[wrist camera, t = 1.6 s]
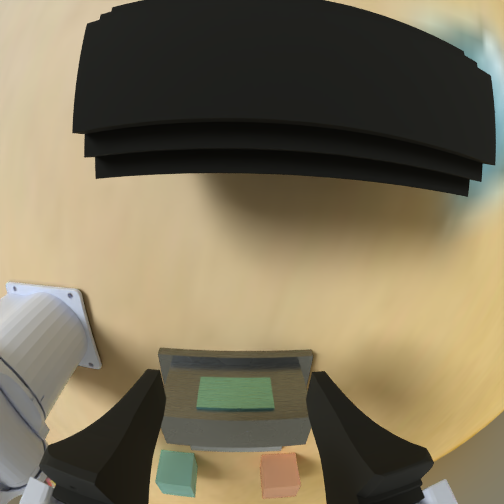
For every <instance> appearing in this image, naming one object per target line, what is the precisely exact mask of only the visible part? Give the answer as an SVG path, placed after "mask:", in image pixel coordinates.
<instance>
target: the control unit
mask: <svg viewBox="0 0 504 504" xmlns="http://www.w3.org/2000/svg"><path fill="white" fill-rule="evenodd" d="M158 357H159V362H160V366H161V371H162V376H163V380H164V384H165V387H164V390H165V395H166V405H165V411H164V417H163V421H162V424H161V429H162V432H163V434H164V437H165V440H166V443H170V444H178V445H189V446H201V447H222V448H259V447H279V446H292V445H303V444H306V441H307V438H308V435H309V432H310V429H311V424H310V421H309V417H308V411H307V405H306V397H307V393H308V391H307V388H306V387H307V383H308V378H309V374H310V369H311V364H312V359H313V354H312V351H311V350H295V351H203V350H183V349H169V348H160V350H159V352H158Z"/></svg>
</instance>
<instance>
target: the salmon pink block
mask: <svg viewBox="0 0 504 504" xmlns="http://www.w3.org/2000/svg"><path fill="white" fill-rule="evenodd" d="M260 475H261V487H262V499H267V498H282V497H292V496H296V494H297V492H298V491H299V489H300V487H301V482H300V476H299V471H298V465H297V460H296V454H295V453H284V454H268V455H262V457H261V464H260Z"/></svg>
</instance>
